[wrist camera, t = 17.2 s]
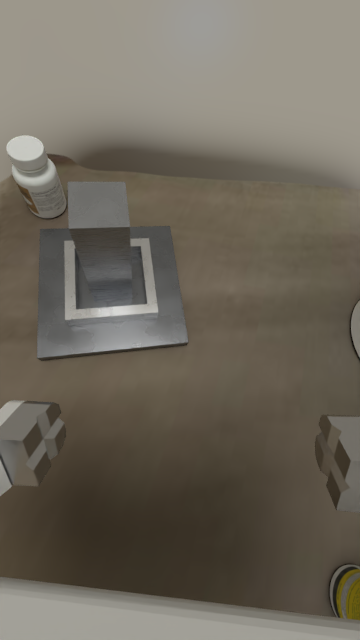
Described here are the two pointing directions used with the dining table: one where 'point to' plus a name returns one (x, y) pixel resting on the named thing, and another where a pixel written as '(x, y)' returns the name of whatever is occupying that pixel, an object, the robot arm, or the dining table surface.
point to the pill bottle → (36, 177)
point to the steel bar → (102, 237)
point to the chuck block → (108, 316)
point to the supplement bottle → (346, 592)
